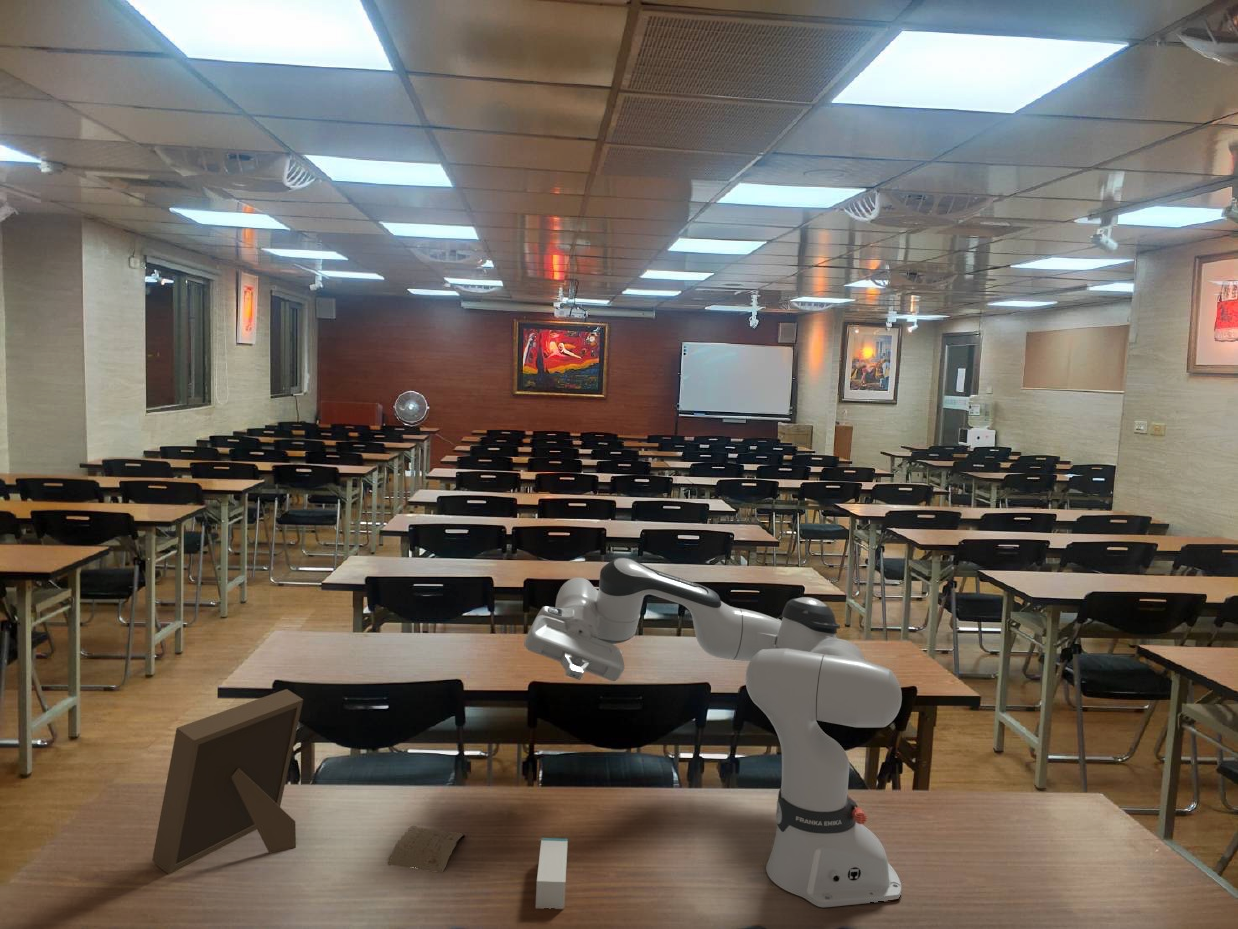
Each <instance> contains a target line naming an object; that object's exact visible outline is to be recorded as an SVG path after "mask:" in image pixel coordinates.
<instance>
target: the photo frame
mask: <svg viewBox="0 0 1238 929" xmlns="http://www.w3.org/2000/svg"><path fill="white" fill-rule="evenodd" d="M303 702H304V699H303V698H301V697H300V696H299V695H297V694H296V693H294V692H292V691H291V690H289V689H288V688H286V689H283V690H280V691H276V692H275V693H271V694H269V695H265V696H263V697H259V698H258V699H254V700H252V701H249V702H246V703H243V704H241V705H238V706H235V707H232V708H230V709H226V710H223V711H221V712H218V713H214V714H212V715H208V716H207V717H204V718H200V719H198V720H194V721H192V722H190V723H186V724H184V725H181V726H178V727H176V728H175V729H176V730H175V734H174V739H173V740H174V741H173V745H172V752H171V755H170V756H171V757H170V762H169V769H168V774H167V777H166V784H165V789H164V793H163V794H164V795H163V800H162V806H161V810H160V815H159V816H160V817H159V822H158V827H157V832H156V838H155V843H154V849H153V853H152V860H151V861H152V862H153V863H155V864H156V865H157V866H158V867H159V868H160V869H162V871H164V872H165V873H167V874H168V875H170V874H172V873H174V872H176V871H178V870H180V869H183V868H184V867H186V866H187V865H190V864H191V863H193V862H196V861H199V859H201V858H203V857H205V856H207V855H209V854H211V853H213V852H216V851H217V850H219V849H221V848H222V847H225V846H226V845H229V844H231V843H233V842H235V841H236V840H238V839H240V838H242V837H244V836H246V835H247V834H250V833H252V832H254V831H256V830H257V832H258V834H259V836H260V838H261V840H262V841H263V842H262V843H264V846H265V848H266V849H267V852H268V853H269V854H270V853H275V852H276V853H277V852H280V851H285V850H289V849H293V848H296V847H297V838H296V837H297V836H296V830H297V829H296V820H295V819H293V817H292V816H290V814H288V813H287V812H286V811H285V810H284V809H283V808H282V807H281V804H282V800H283V796H284V791H285V786H286V782H287V776H288V773H289V767H290V765H291V764H290V763H291V758H292V753H293V749H294V744H295V739H296V736H297V730H298V725H299V722H300V717H301V712H302V707H303Z"/></svg>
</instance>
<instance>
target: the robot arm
mask: <svg viewBox="0 0 1238 929" xmlns="http://www.w3.org/2000/svg"><path fill="white" fill-rule="evenodd" d="M647 595H651V596H654V597H657V598H660V599H664V600H666V601H669V602H673V603H677V604H680V605H682V606H683V607H685V609H687V610H688V611H689V613H690V614H691V617H692V624H693V630H694V635H695V637H696V640H697V643H698V644H699V646H700V647H701V649H702V650H703V651H704V652H705V653H707V654H708V655H710V656H712V657H715V658H719V659H723V660H724V659H725V660H731V661H740V662H749V663H748V665H747V667H746V671H745V680H744V681H745V686H746V690H747V693H748V695H749V697H750V699H751V700H752V702H753V703H754V704H755V705H756V706H757V707H758V708H759V709H760V710H761V711H762V712H763V713H764V715H766V717H767V718H768V720H769V721H770V723H771V725H772V726H773V728H774V730H775V732H776V734H777V737H778V740H779V743H780V749H781V750H780V751H781V786H780V788H779V790H778V795H777V801H776V809H775V810H776V812H775V813H776V814H775V820H776V831H775V837H774V842H773V846H772V848H771V851H770V852H771V853H770V856H769V858H768V860H767V862H766V865H765V870H766V873H767V876H768V877H769V879H770V880H771V881H772V882H773V883H774V884H775V885H777V886H778V887H780V888H781V889H783V891H786V892H788V893H791V894H794V895H796V896H798V897H801V898H803V899H805V900H807V901H808V902H810V903H811V904H812V905H814V906H816V907H818V908H830V907H831V908H832V907H841V906H850V905H851V906H852V905H853V906H854V905H861V904H862V905H863V904H871V903H870V902H874V903H879V902H878V901H882V900H887V899H888V900H889V899H892V898H898V897H900V895H901V896H902V894H901V891H902V883H901V879H900V878H899V876H898V874H897V871H895V869H894V867H892V865H891V864H890V863H889V861H888V856H887V853H886V850H885V848H884V846H883V844H882V842H881V841H880V840H879V838H878V837H877V836H876V835H875V834H874V833H873V832H872V831H871V830H870V829H869V828H867V827H866V826H865V825H864V824H865V822H867V820H868V818H867V817H868V816H867V815H866V814H865V812H864V810H863V809H862V808H860V807H858V803H857V802H856V801H855V800H854V799H852V797H851V796H850V795H849V794H848V789H849V778H850V777H849V775H850V765H851V764H850V759H849V756H848V754H847V752H846V751H845V749H844V748H843V747H842V745H840V743H839V742H838V741H837V740H835V739H834V738H832V737H831V736H829V735H828V734H827V733H825V732H824V731H823V729H822V728H821V727H820V725H819V724H818V722H817V721H819V722H823V723H824V722H826V723H829V724H830V723H831V724H836V725H842V726H847V727H853V728H885V727H886V728H887V726H889V725H890V724H891V723H892V722H893V721H894V720H895V719H896V717H897V716H898V714H899V712H900V709H901V707H902V700H903V696H902V695H903V694H902V693H903V692H902V688H901V685H900V682H899V679H898V678H897V675H895V674H894V672H893V671H892V670H891V669H889V668H887V667H884V666H882V665H879V664H876V663H874V662H870V661H868V660H866V659H865V656H864V655H863V652H862V651H861V650H860V648H859V647H858V646H856V645H855V644H854V643H853V642H851V641H848V640H845V639H843V638H838V637H837V633H838V632H837V630H838V629H841V625H840V624H839V623H838V622H837V621H836V616H835V614H834V612H833V609H831V607H830V606H829V605H828V604H826V603H824V602H823V601H821V600H819V599H817V598H814V597H807V596H806V597H805V596H804V597H803V596H802V597H798V598H792V599H789V600H788V601H787V602H786V603H785V606H784V607H783V610H782V613H781V616H782V619H781V621H780V620H779V619H777V618H776V617H772V616H770V615H767V614H764V613H761V612H759V611H758V612H757V611H754V610H749V609H745V608H738V607H734V606H732V605H731V606H730V605H729V604H727V603H725V602H723V601H722V600H721V598H720V596H719V594H718V593H717V592H715V591H714V590H713V589H710V588H709V587H706V586H704V585H701V584H699V583H696V582H693V581H691V580H690V581H689V580H688V579H683V578H682V577H677V576H675V575H672V574H669V573H667V572H666V573H665V572H662V571H659V570H657V569H653V568H652V567H649V566H647V565H645V564H642V563H640V562H639V561H637V560H634V559H630V558H628V557H618V558H614V559H613V560H611V561H609V562H607V564H604V565H603V566H602V568H601V569H600V573H599V583H598V589H597V588H596V587H595V586H594V585H593V584H592V582H590V580H588V579H586V578H584V577H573V578H571V579H568V580H567V581H565V582H564V583H563V584H562V586H560V588H559V591H558V593H557V594H556V599H555V607H554V606H547V605H545V606H542V607H541V609H540V610H539V611H538V613H537V615H536V617H535V619H534V620H533V623H532V624H531V626H530V628H529V630H528V633H527V635H525V636H526V637H525V640H524V647H525V648H526V651H528V652H532V653H535V654H537V655H541V656H543V657H546V658H548V659H551V660H554V661H557V662H559V663H560V665H561V666H562V667H563V669H564V670H565V676H567V677H570V678H573V679H575V680H578V681H581V680H582V678H583V675H584V673H585V672H587V673H589V674H593V675H594V676H598V677H600V678H602V679H606V680H608V681H611V682H616V681H618V680H619V679H620V678H621V676H622V675H623V673H624V671H625V661H624V658H623V657H624V656H623V652H622V651H621V650H620V648H619V647H618V646H617V645H616V644H621V643H625V642H626V641H629V640H630V639H632V638H633V637H634V636H635V635H636V632H637V628H638V626H639V621H640V617H641V611H642V606H643V601H644V598H645V596H647ZM894 886H895V887H894ZM900 898H901V897H900Z"/></svg>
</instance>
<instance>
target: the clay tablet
mask: <svg viewBox="0 0 1238 929" xmlns="http://www.w3.org/2000/svg"><path fill="white" fill-rule="evenodd" d="M463 836H464V837H465V836H466V835H465V834H462V833H460V832H454V831H445V830H438V829H432V828H431V829H430V828H423V827H418V826H415V825H412V826H411V825H410V827H409V828H408V829H407V831H405V833H403V835H401V837H400V838H399V840H398V841H397V843H395V846H394V847H393V850H392V854H391V855H390V858H389V861H388V866H394V867H403V868H408V869H411V868H410V867H414V868H413V869H415V867H416V868H418V869H417V870H420V869H421V870H422V871H427V870H428V872H432V871H437V872H436V873H438V872H440V873H439V874H442V873H443V871H444V869H445V868H446V867H447V863H448V860H449V858H450V856H451V855H452V852H453V851H454V850H455V847H456V845H457V842H458V841H459V839H461V837H463Z"/></svg>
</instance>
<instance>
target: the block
mask: <svg viewBox="0 0 1238 929" xmlns="http://www.w3.org/2000/svg"><path fill="white" fill-rule="evenodd" d="M540 839H541V841H540V849H539V858H538V868H537V877H536V888H535V890H536V891H535V894H536V895H535V909H544V908H549V909H548V910H550V909H551V908H555V909H554V910H565V901H566V899H565V897H566V883H567V881H566V880H567V863H568V862H567V860H568V843H569V841H568V840H569V839H568V838H553V837H552V838H551V837H541V838H540ZM538 907H539V908H538Z"/></svg>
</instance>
